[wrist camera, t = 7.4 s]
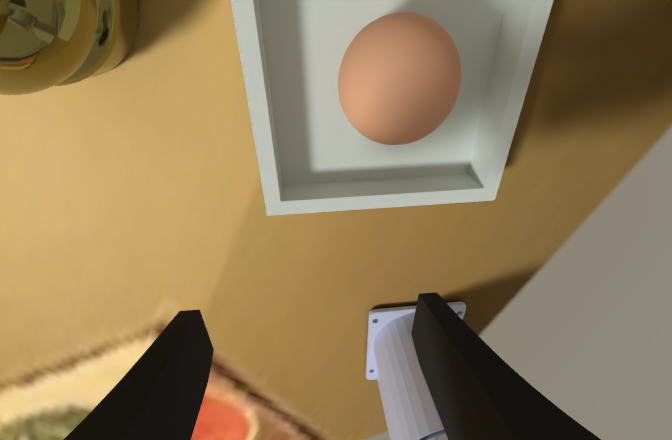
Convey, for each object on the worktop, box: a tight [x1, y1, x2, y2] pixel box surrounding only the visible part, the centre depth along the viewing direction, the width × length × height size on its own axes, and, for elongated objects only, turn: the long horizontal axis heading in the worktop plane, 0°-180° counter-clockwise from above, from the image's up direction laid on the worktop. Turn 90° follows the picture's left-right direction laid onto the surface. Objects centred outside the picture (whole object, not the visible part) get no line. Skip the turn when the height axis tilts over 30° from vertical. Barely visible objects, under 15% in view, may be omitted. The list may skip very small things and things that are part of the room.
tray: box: [231, 0, 553, 216], centre depth 14 cm, size 13×13×2 cm
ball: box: [338, 12, 462, 145], centre depth 13 cm, size 5×5×5 cm
